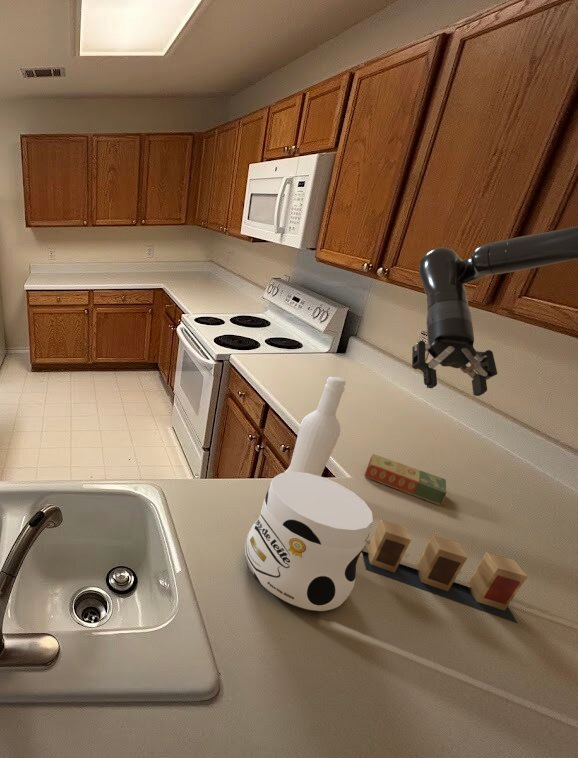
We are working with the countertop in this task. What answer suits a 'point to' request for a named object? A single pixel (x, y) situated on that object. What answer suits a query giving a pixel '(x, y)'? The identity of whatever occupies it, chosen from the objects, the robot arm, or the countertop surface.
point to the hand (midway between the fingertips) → (455, 390)
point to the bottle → (318, 432)
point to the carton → (407, 479)
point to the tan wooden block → (388, 545)
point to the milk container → (308, 540)
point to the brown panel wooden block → (441, 563)
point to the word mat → (455, 592)
